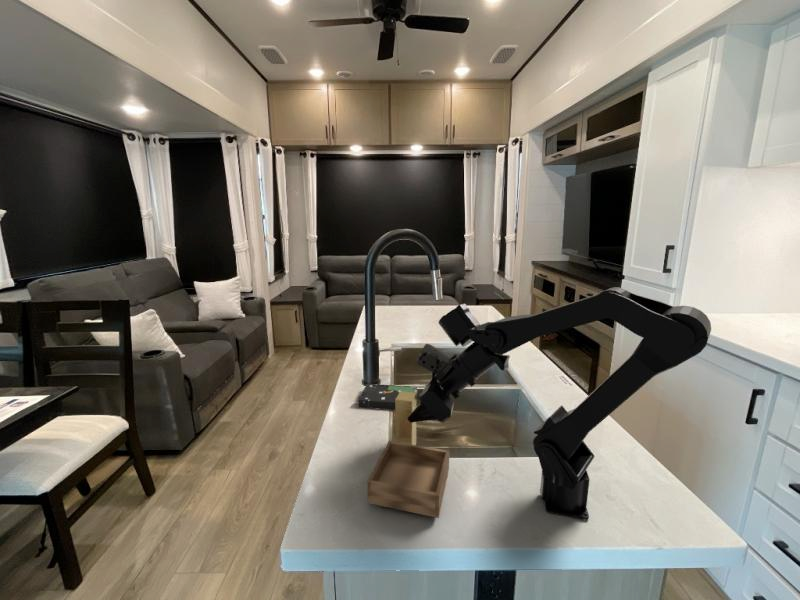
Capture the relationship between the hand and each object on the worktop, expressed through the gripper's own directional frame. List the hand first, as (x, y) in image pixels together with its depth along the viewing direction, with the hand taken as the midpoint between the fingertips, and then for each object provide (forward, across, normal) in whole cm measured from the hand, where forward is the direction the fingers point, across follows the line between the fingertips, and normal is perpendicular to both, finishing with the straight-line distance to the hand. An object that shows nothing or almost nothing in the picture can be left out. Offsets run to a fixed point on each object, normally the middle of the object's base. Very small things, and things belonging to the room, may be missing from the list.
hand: (414, 409), depth 74 cm
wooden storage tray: (+5, +12, +8) cm, 15 cm away
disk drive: (+16, -20, -1) cm, 25 cm away
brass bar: (+8, 0, +5) cm, 9 cm away
